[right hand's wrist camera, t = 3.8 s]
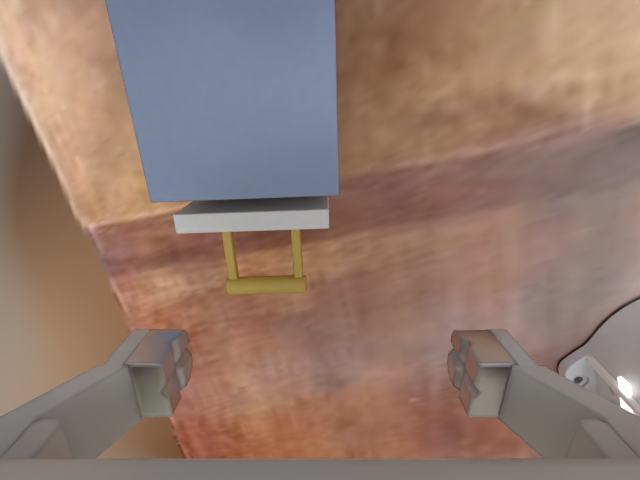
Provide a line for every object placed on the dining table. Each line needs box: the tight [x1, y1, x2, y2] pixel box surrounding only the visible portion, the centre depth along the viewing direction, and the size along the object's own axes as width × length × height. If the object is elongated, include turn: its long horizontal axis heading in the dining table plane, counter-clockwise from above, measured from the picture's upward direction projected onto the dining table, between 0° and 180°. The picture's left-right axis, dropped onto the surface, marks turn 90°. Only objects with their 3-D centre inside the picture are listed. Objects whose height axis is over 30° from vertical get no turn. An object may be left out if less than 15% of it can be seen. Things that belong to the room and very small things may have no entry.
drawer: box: [173, 196, 329, 294], centre depth 22 cm, size 22×9×8 cm, turn 2°
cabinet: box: [105, 0, 339, 202], centre depth 20 cm, size 18×10×10 cm, turn 2°
